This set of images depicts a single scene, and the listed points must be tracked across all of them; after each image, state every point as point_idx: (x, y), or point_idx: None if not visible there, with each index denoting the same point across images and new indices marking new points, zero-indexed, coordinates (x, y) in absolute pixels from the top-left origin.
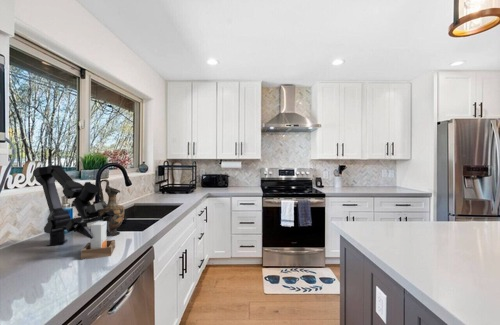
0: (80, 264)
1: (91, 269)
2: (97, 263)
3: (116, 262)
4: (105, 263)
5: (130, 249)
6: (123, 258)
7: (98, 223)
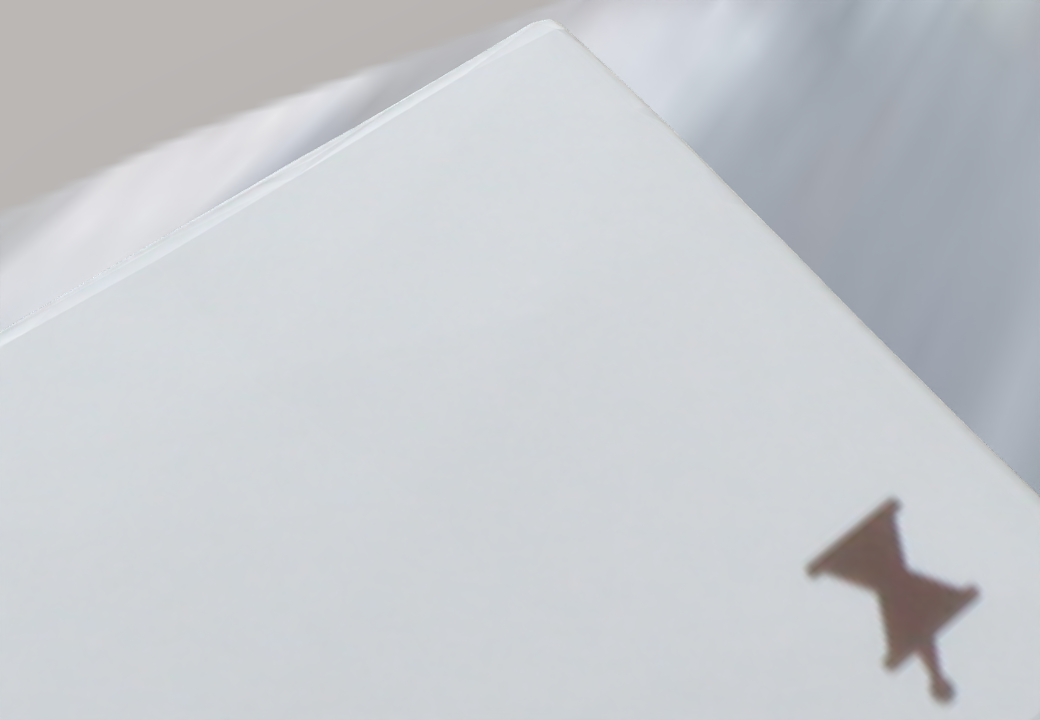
0: (1029, 472)
1: (985, 115)
2: (813, 239)
3: (622, 24)
4: (737, 129)
5: (62, 293)
6: (461, 58)
7: (439, 493)
